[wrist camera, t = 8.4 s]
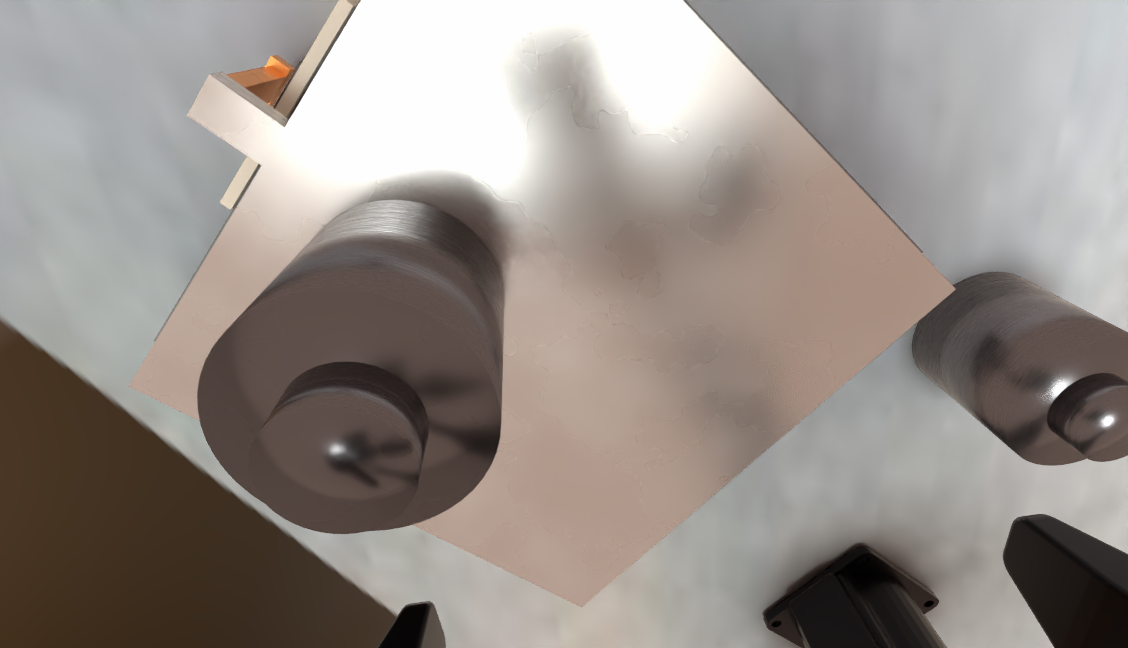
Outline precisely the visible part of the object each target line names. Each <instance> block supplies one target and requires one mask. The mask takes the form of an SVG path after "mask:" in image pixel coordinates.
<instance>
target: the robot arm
mask: <svg viewBox="0 0 1128 648" xmlns="http://www.w3.org/2000/svg"><path fill="white" fill-rule="evenodd" d="M1003 560H1004V564H1005V567H1006V569H1007V571H1008V573H1009V575H1010V576H1011V578H1012V580H1013V581H1014V583H1015V584H1016V586H1017V588H1018V589H1019V591H1020V593H1021V594H1022V596H1023V597H1024V599H1025V601H1026V602H1027V604H1028V606H1029V607H1030V609H1031V610H1032V612H1033V614H1034V615H1035V617H1036V619H1037V620H1038V622H1039V623H1040V625H1041V627H1042V628H1043V630H1044V632H1045V633H1046V635H1047V636H1048V638H1049V640H1050V641H1051V643H1052V645H1053V646H1054V648H1128V554H1127V553H1125V552H1123V551H1121V550H1119V549H1117V548H1115V547H1112V546H1110V545H1108V544H1106V543H1104V542H1102V541H1100V540H1098V539H1096V538H1094V537H1092V536H1090V535H1088V534H1086V533H1084V532H1082V531H1080V530H1078V529H1076V528H1074V527H1072V526H1070V525H1068V524H1066V523H1064V522H1062V521H1060V520H1058V519H1056V518H1053V517H1051V516H1048V515H1044V514H1037V515H1030V516H1022V517H1018V518H1016V519H1015V520H1014V521H1013V523H1012V526H1011V529H1010V532H1009V535H1008V539H1007V542H1006V545H1005V548H1004V551H1003ZM938 603H939V600H938V599H937V597H936V596H935V595H934V593H933V592H932V591H931V590H929V589H928V588H926V587H925V586H924V585H922V584H921V583H919V582H918V581H916V580H915V579H914V578H912V577H911V576H909V575H908V574H906V573H905V572H903V571H902V570H901V569H899V568H898V567H896V566H895V565H893V564H892V563H890V562H889V561H888V560H886V559H885V558H883V557H882V556H880V555H879V554H878V553H876V552H875V551H873V550H872V549H870V548H869V547H866V546H861V547H857V548H856V549H854V550H852V551H851V552H850V553H848V554H847V555H846V556H844V557H843V558H842V559H840V560H839V561H837V562H836V563H835V564H833V565H832V566H831V567H829V568H828V569H827V570H825V571H824V572H822V573H821V574H820V575H818V576H817V577H816V578H814V579H813V580H811V581H810V582H809V583H807V584H806V585H805V586H803V587H802V588H801V589H799V590H798V591H796V592H795V593H794V594H792V595H791V596H790V597H788V598H787V599H785V600H784V601H783V602H781V603H780V604H779V605H777V606H776V607H775V608H773V609H772V610H770V611H769V612H768V613H767V614H766V615H765V616H764V621H765V624H766V626H767V628H768V629H769V630H771V631H773V632H775V633H776V634H778V635H780V636H782V637H784V638H786V639H787V640H789V641H791V642H793V643H795V644H796V645H798V646H800V647H802V648H947V647H946V646H945V644H944V643H943V641H942V640H941V638H940V637H939V635H938V634H937V632H936V631H935V630H934V628H933V627H932V625H931V624H930V622H929V621H928V619H927V618H926V617H925V615H924V614H925V613H927V612H928V611H930V610H931V609H933V608H934V607H936V606H937V604H938ZM378 648H446V643H445V636H444V632H443V629H442V626H441V623H440V620H439V617H438V614H437V611H436V609H435V606H434V604H433V603H432V602H430V601H426V602H419V603H412V604H408V605H406V606H405V607H404V608H403V609H402V610H401V612H400V613H399V615H398V616H397V618H396V620H395V621H394V623H393V624H392V626H391V627H390V629H389V630H388V632H387V633H386V635H385V636H384V638H383V640H382V641H381V643H380V644H379V646H378Z"/></svg>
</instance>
